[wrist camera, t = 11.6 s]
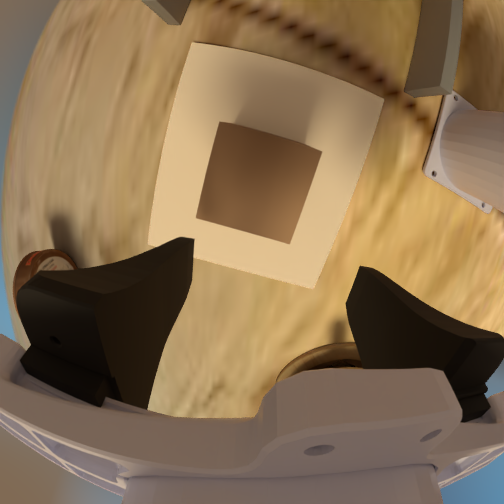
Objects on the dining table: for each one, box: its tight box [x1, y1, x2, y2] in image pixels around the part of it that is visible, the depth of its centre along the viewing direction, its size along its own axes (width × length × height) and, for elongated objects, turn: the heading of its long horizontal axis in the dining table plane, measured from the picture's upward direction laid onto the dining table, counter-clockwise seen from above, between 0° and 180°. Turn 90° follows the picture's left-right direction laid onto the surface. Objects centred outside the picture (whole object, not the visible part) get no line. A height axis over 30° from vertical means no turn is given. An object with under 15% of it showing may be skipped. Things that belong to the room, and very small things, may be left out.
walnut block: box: [196, 121, 322, 244], centre depth 16 cm, size 5×5×6 cm
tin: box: [13, 249, 77, 320], centre depth 21 cm, size 15×3×8 cm, turn 9°
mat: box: [148, 42, 385, 289], centre depth 19 cm, size 14×16×1 cm
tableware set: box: [276, 343, 363, 383], centre depth 30 cm, size 30×20×6 cm, turn 155°
